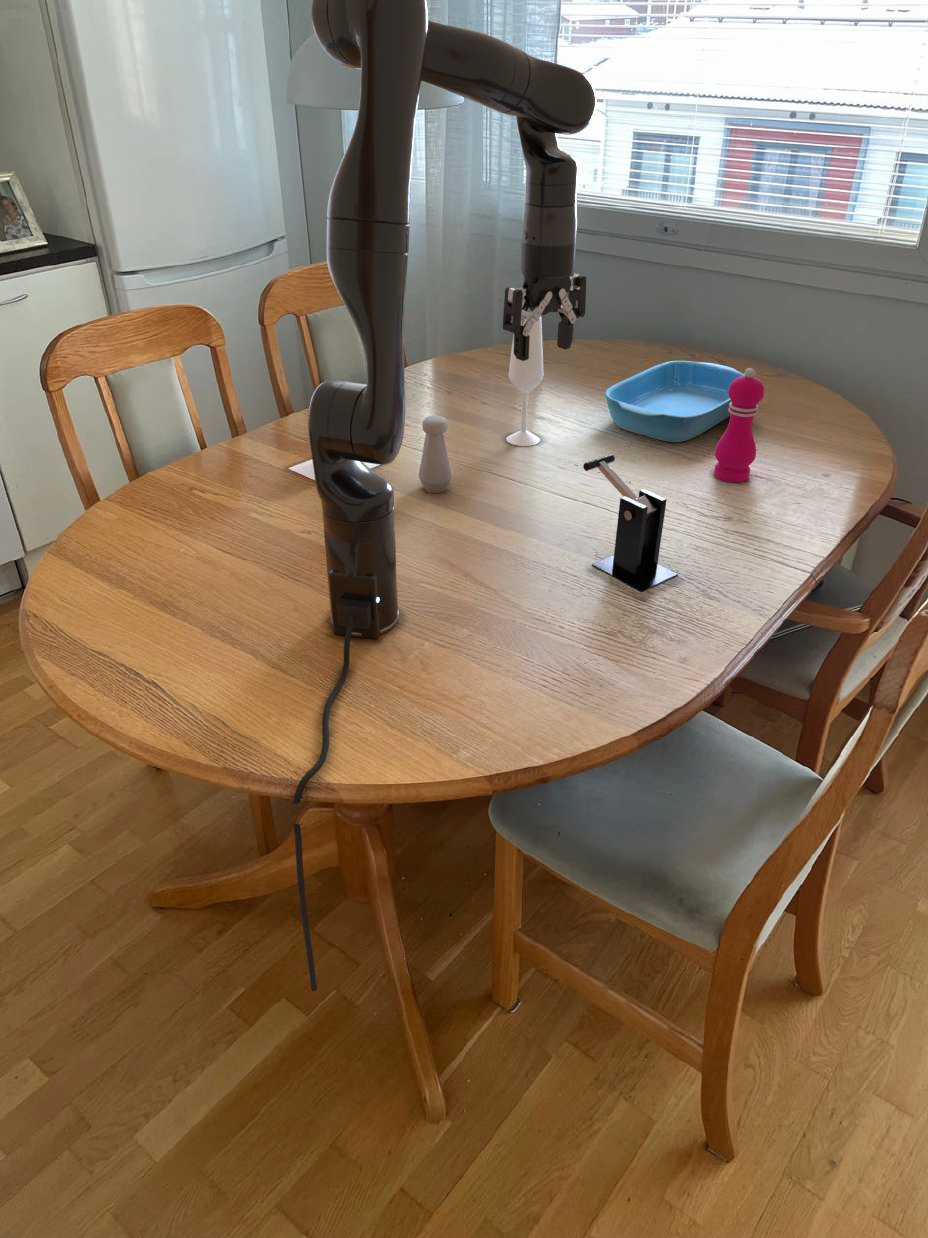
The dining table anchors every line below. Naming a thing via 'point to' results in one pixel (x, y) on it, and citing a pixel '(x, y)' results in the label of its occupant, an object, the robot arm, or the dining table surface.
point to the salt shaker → (435, 456)
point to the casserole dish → (673, 400)
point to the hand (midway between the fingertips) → (543, 353)
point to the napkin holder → (308, 468)
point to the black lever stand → (638, 545)
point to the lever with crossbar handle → (618, 481)
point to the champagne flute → (527, 381)
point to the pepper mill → (739, 429)
